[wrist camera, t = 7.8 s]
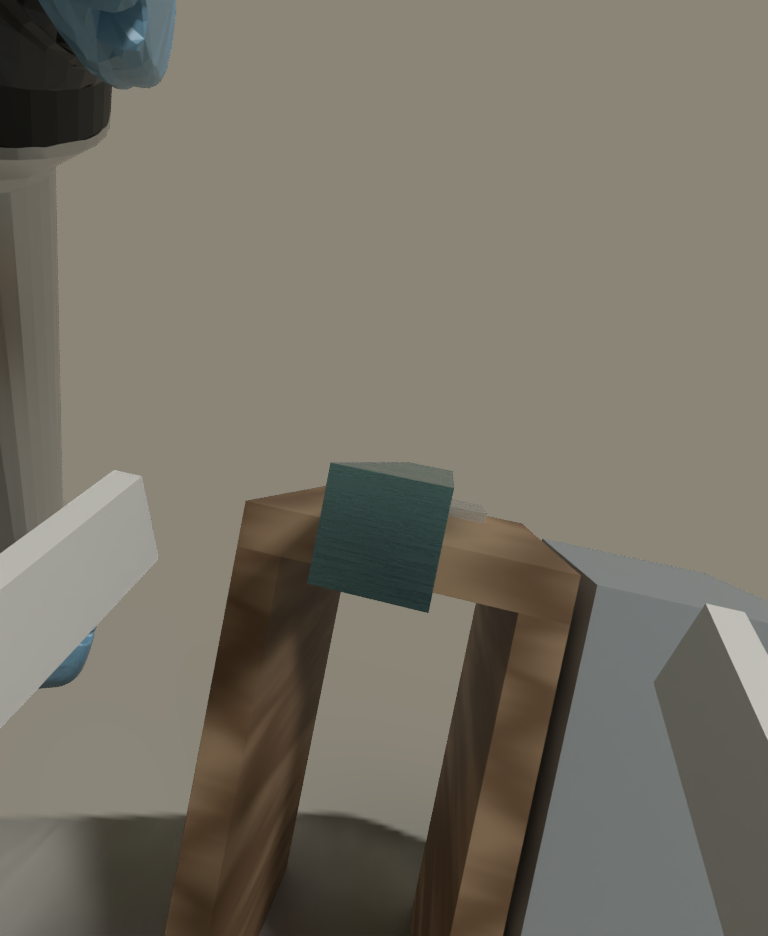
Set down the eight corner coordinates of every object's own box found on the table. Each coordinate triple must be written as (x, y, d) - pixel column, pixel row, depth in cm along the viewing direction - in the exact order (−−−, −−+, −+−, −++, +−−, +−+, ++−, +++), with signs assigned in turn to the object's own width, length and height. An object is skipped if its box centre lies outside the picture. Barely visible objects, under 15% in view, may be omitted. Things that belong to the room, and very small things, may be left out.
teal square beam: (202, 557, 11) (223, 440, 11) (375, 491, 37) (382, 455, 37) (549, 642, 10) (576, 513, 10) (479, 513, 36) (486, 476, 36)
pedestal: (445, 1259, 20) (591, 585, 19) (447, 957, 33) (536, 536, 32) (709, 1371, 19) (884, 650, 18) (607, 1011, 32) (706, 573, 30)
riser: (124, 1148, 22) (245, 500, 21) (262, 859, 38) (335, 484, 36) (427, 1279, 20) (580, 575, 19) (438, 917, 36) (521, 523, 35)
